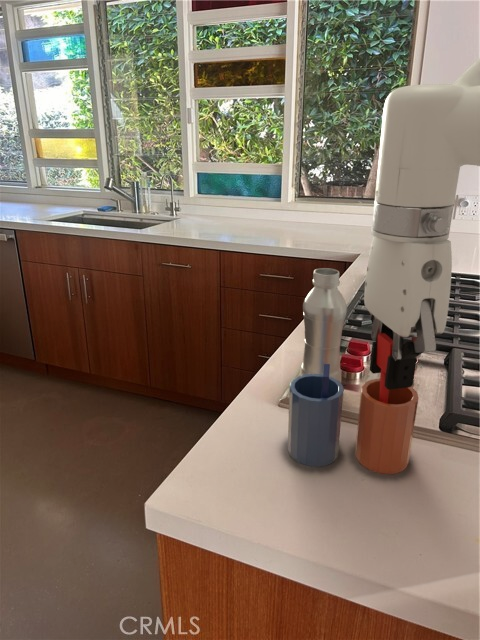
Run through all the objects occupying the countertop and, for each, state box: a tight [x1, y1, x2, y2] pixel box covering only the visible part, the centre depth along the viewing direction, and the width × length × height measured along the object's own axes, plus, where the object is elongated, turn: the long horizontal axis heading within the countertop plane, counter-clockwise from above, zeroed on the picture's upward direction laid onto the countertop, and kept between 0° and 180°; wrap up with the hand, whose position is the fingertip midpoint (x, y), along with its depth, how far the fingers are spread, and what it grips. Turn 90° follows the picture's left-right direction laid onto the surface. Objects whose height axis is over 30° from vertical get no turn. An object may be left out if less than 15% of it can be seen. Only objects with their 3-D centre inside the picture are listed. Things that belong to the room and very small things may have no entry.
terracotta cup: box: [354, 378, 420, 475], centre depth 57 cm, size 6×6×10 cm
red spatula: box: [377, 333, 393, 404], centre depth 55 cm, size 1×3×16 cm, turn 11°
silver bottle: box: [298, 267, 348, 384], centre depth 70 cm, size 6×7×20 cm
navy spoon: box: [321, 364, 330, 398], centre depth 57 cm, size 1×2×13 cm, turn 168°
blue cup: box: [287, 374, 344, 468], centre depth 58 cm, size 6×6×10 cm
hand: (390, 377), depth 54 cm, fingers closed on red spatula, 3 cm apart
